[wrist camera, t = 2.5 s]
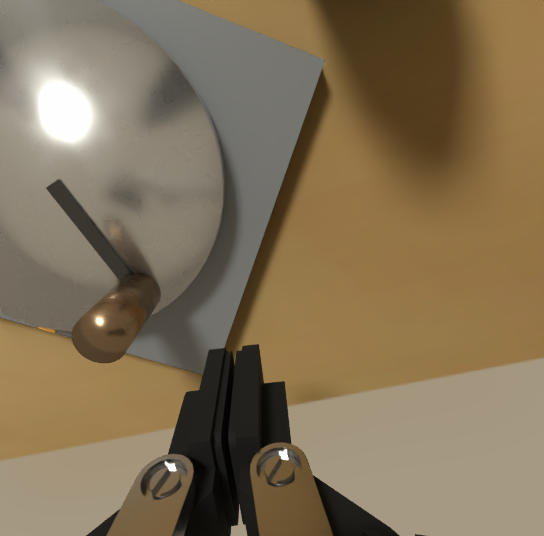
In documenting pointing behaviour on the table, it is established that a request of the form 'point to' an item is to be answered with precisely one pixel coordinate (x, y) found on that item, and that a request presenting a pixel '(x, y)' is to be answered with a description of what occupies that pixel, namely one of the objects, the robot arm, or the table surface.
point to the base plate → (225, 162)
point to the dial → (99, 174)
